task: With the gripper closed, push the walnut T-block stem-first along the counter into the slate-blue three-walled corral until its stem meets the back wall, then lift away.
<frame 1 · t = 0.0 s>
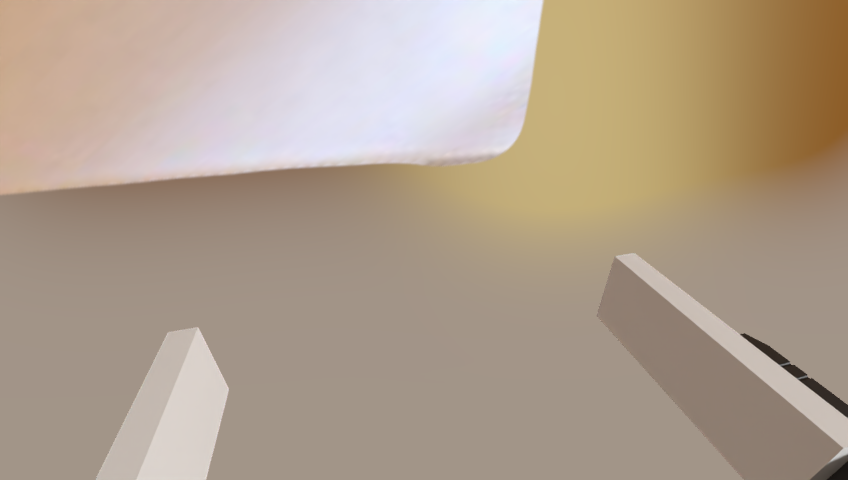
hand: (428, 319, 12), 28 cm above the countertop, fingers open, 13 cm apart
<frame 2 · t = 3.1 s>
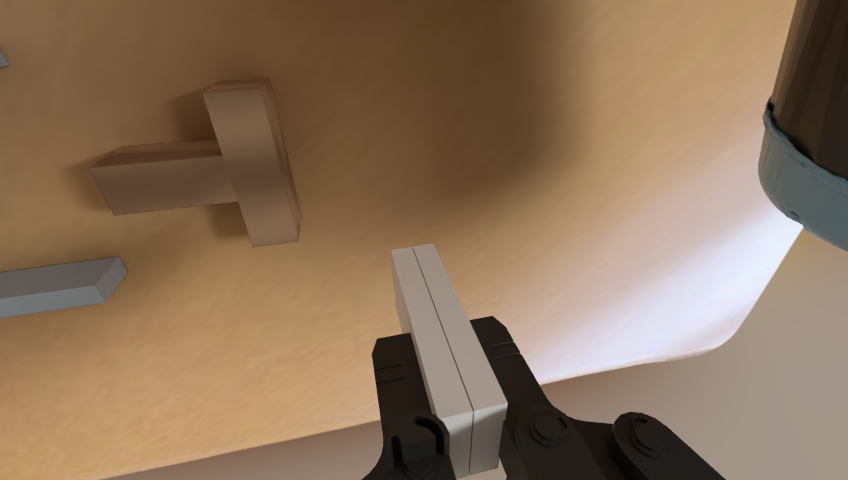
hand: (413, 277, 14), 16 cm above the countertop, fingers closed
tee block: (265, 155, 26), on the countertop
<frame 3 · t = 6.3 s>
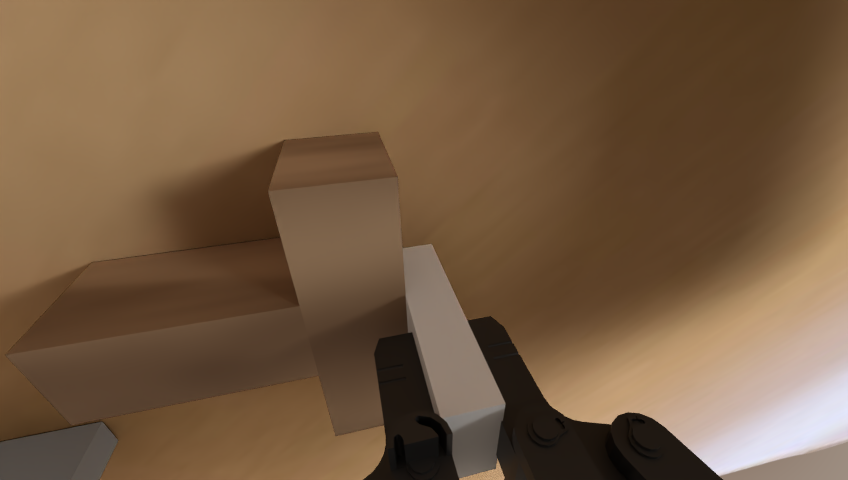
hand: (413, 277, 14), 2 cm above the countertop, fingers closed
tee block: (352, 261, 15), on the countertop, touching gripper
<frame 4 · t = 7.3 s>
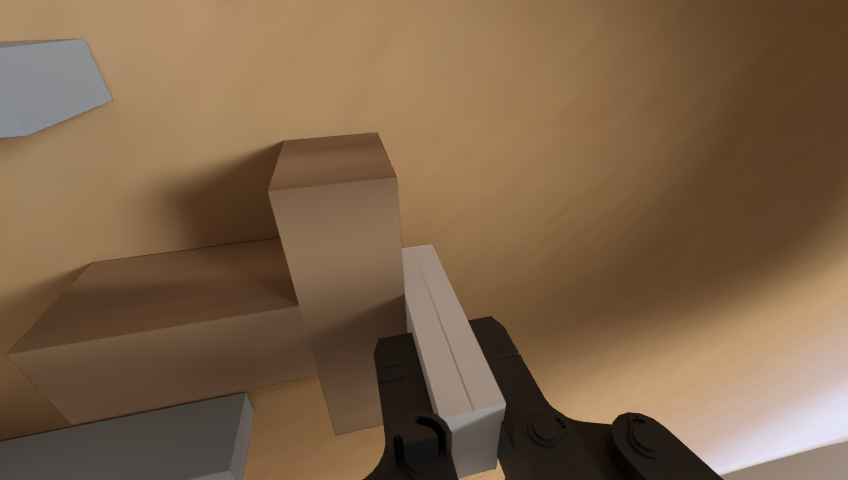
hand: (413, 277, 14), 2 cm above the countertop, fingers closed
corral: (6, 311, 13), on the countertop
tee block: (351, 261, 15), on the countertop, touching gripper
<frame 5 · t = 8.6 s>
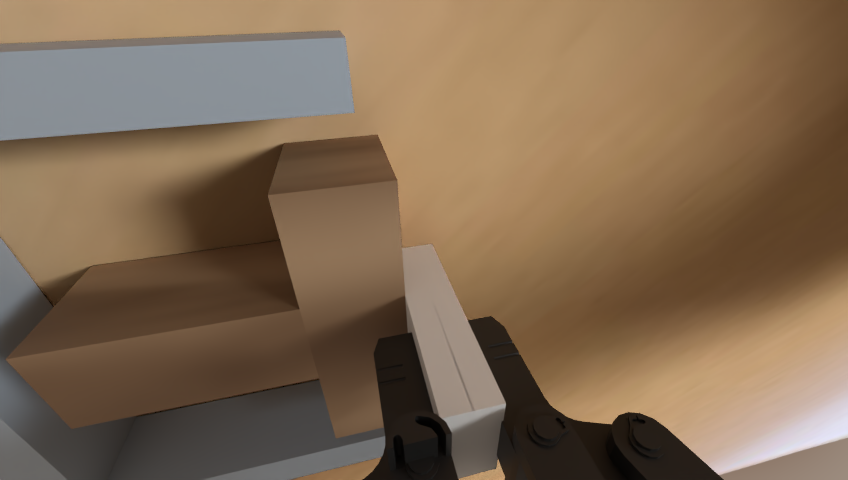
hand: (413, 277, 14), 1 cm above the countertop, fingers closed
corral: (208, 284, 14), on the countertop
tee block: (352, 263, 15), on the countertop, touching gripper
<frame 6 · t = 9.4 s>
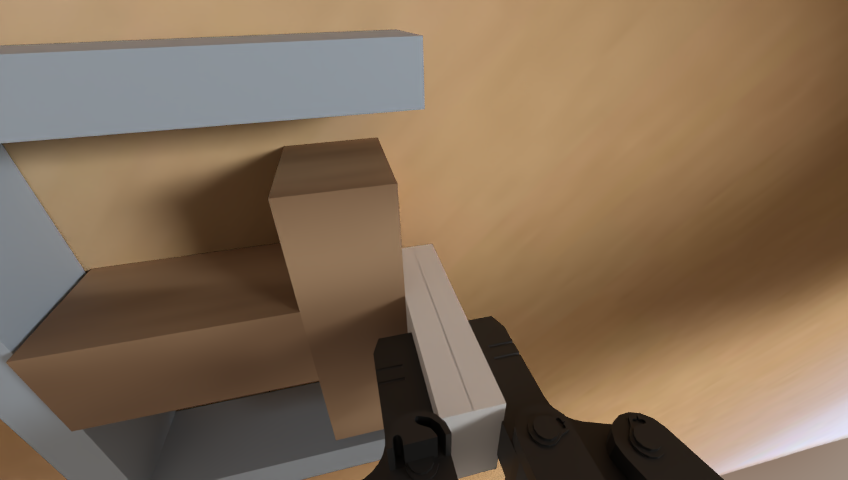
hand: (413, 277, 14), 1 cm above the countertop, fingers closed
corral: (253, 279, 14), on the countertop
tee block: (351, 265, 15), on the countertop, touching gripper
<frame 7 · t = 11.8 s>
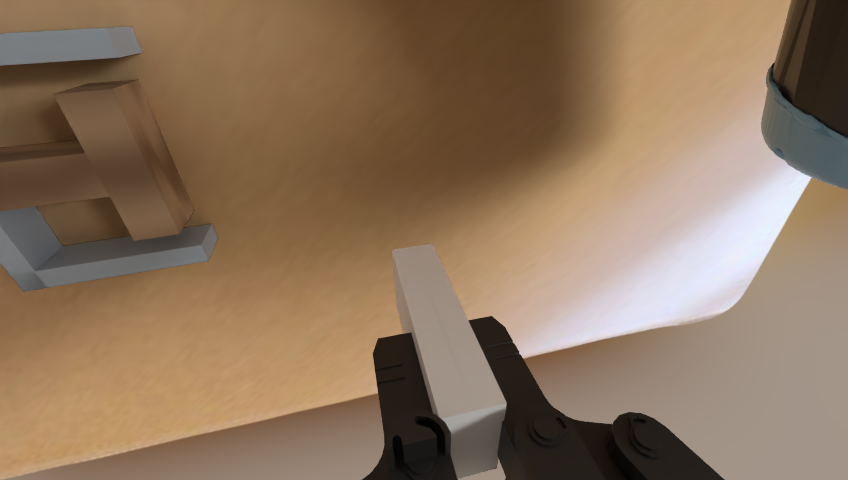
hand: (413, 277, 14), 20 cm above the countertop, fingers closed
corral: (91, 159, 26), on the countertop
tee block: (146, 153, 27), on the countertop
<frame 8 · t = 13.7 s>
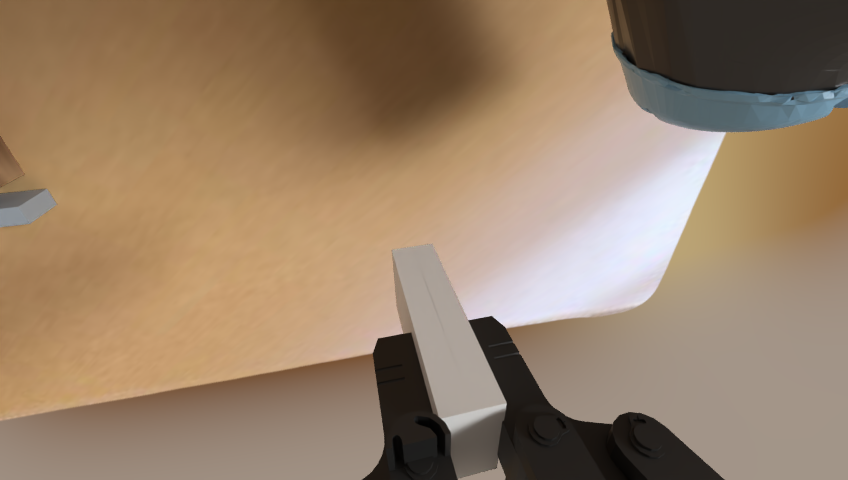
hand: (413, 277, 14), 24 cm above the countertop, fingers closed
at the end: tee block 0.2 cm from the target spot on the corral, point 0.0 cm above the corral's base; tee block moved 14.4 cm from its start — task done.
